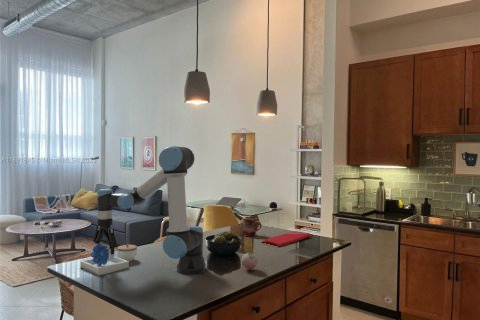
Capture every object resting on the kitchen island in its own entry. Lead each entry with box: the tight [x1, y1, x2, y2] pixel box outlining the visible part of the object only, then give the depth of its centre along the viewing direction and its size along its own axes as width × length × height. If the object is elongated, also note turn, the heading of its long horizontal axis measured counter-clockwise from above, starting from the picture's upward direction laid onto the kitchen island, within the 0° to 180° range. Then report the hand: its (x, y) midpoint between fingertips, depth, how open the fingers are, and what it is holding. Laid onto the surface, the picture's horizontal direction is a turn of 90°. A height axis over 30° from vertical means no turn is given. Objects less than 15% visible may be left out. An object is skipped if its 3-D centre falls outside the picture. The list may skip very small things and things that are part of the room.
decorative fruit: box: [240, 251, 259, 271], centre depth 189 cm, size 9×8×10 cm
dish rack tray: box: [79, 255, 130, 276], centre depth 191 cm, size 19×17×4 cm
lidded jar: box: [116, 243, 138, 262], centre depth 204 cm, size 11×11×9 cm
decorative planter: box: [239, 216, 262, 237], centre depth 272 cm, size 20×12×14 cm, turn 55°
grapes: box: [90, 242, 109, 266], centre depth 192 cm, size 12×7×12 cm
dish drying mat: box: [260, 231, 312, 248], centre depth 259 cm, size 16×41×4 cm, turn 137°
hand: (104, 257), depth 191 cm, fingers open, 13 cm apart
